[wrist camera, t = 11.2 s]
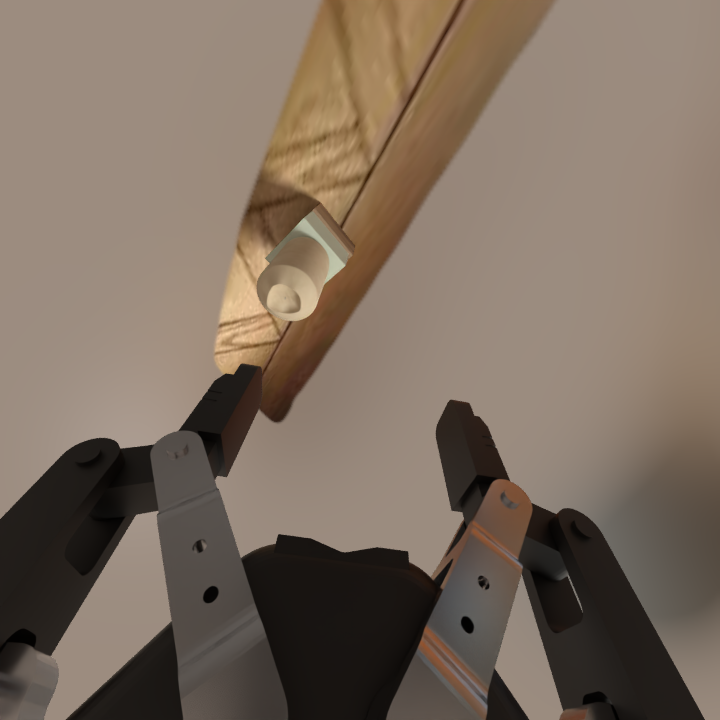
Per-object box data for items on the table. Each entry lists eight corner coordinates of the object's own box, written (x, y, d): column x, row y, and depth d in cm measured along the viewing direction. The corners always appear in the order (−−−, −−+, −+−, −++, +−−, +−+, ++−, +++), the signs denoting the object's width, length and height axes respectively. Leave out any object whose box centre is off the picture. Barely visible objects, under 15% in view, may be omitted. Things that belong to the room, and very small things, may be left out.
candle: (291, 288, 35) (266, 333, 27) (273, 242, 32) (239, 278, 24) (335, 279, 34) (322, 323, 26) (321, 230, 31) (302, 264, 23)
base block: (321, 202, 39) (314, 207, 34) (355, 245, 42) (352, 255, 37) (285, 238, 41) (275, 246, 37) (319, 276, 44) (314, 287, 40)
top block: (312, 210, 35) (304, 217, 31) (348, 253, 37) (345, 265, 33) (277, 247, 37) (265, 258, 33) (313, 285, 40) (306, 299, 36)
